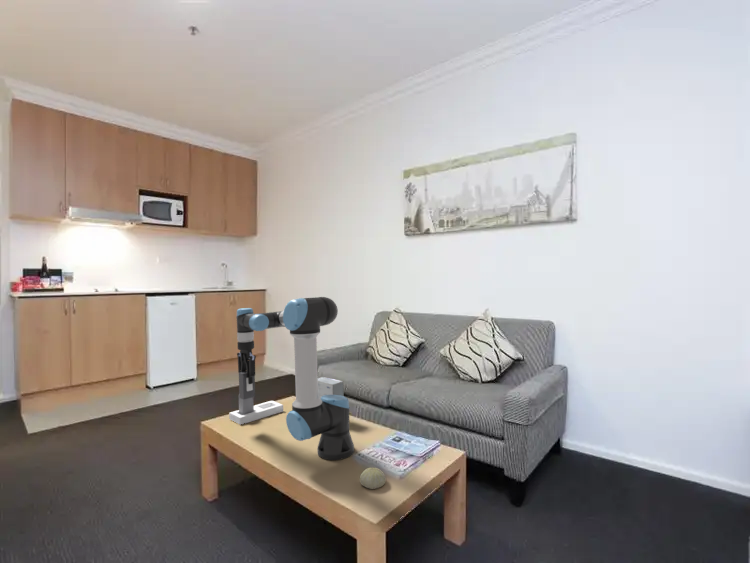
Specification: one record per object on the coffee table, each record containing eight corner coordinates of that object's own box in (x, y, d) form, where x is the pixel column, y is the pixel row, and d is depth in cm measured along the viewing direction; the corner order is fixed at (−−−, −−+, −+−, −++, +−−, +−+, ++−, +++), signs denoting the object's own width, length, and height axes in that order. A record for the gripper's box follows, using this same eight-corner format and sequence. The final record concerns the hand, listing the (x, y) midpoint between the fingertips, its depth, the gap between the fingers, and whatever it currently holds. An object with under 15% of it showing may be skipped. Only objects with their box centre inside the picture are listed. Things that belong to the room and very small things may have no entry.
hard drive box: (344, 420, 198) (344, 381, 197) (333, 425, 192) (332, 384, 191) (324, 413, 208) (323, 376, 207) (312, 418, 202) (312, 379, 201)
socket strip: (283, 411, 212) (282, 388, 212) (240, 425, 194) (239, 399, 194) (272, 406, 220) (271, 384, 219) (229, 419, 202) (228, 395, 201)
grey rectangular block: (255, 396, 189) (254, 371, 189) (243, 399, 185) (242, 374, 184) (250, 394, 192) (250, 370, 191) (239, 397, 187) (238, 372, 187)
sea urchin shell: (385, 470, 144) (385, 462, 139) (385, 494, 139) (385, 487, 133) (360, 470, 145) (359, 462, 139) (359, 493, 139) (358, 486, 133)
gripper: (262, 341, 184) (263, 391, 185) (244, 337, 196) (245, 384, 197) (247, 343, 179) (249, 395, 179) (229, 340, 191) (231, 388, 191)
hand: (247, 389), depth 188 cm, fingers closed on grey rectangular block, 4 cm apart
